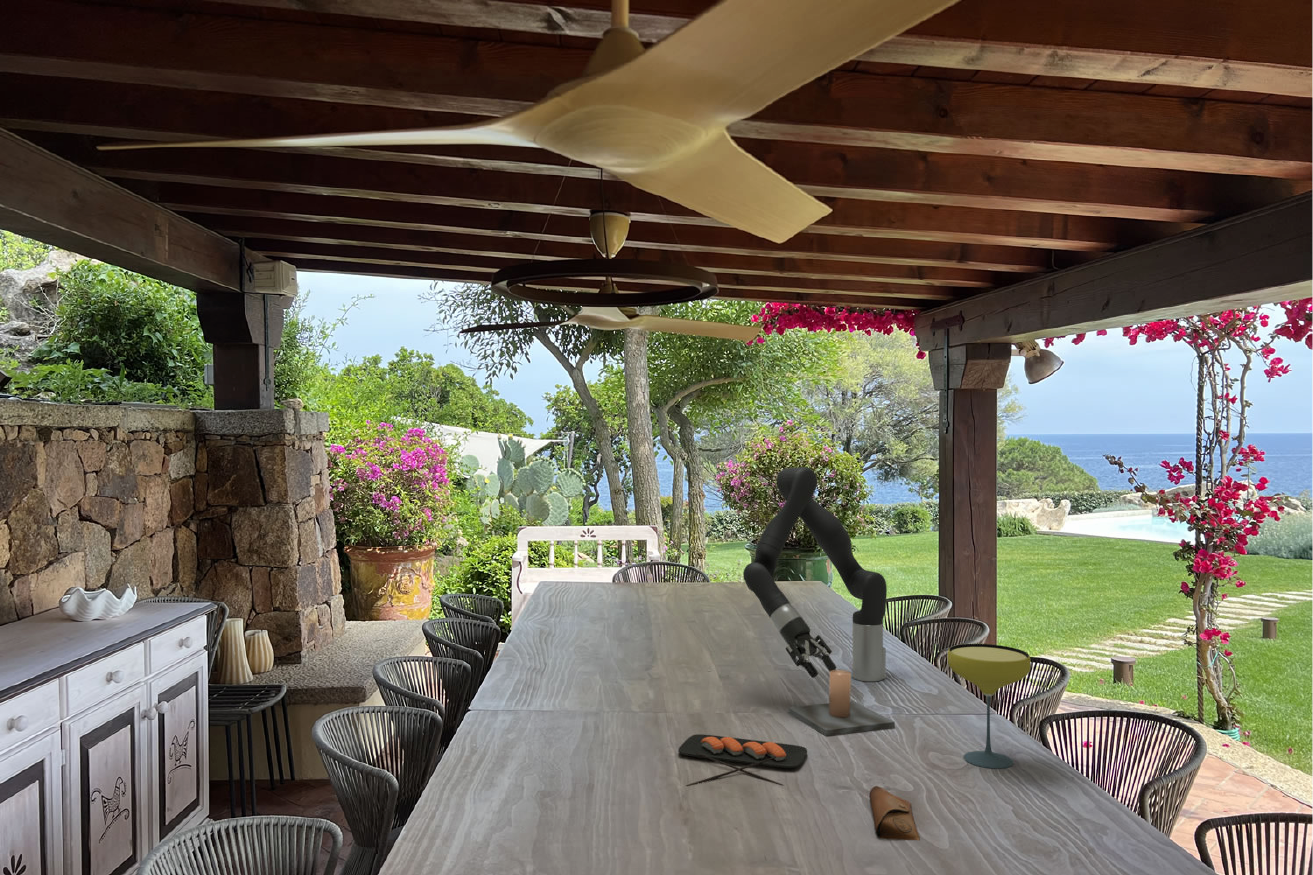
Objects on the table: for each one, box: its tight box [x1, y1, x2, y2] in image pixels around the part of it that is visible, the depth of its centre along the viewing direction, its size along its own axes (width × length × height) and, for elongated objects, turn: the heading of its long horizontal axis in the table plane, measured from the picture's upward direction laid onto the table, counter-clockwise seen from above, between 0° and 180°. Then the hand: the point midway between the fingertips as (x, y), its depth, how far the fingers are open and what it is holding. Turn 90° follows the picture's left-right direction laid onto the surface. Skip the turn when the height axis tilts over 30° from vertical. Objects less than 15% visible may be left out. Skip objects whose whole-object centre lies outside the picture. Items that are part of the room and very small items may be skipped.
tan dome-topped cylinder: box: [828, 669, 852, 717], centre depth 237 cm, size 6×6×11 cm
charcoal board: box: [788, 700, 896, 737], centre depth 237 cm, size 20×20×2 cm
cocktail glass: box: [946, 643, 1032, 770], centre depth 207 cm, size 18×18×25 cm
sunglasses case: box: [869, 785, 921, 841], centre depth 175 cm, size 18×7×7 cm
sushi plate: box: [678, 733, 808, 787], centre depth 203 cm, size 29×30×4 cm
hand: (825, 673), depth 240 cm, fingers open, 8 cm apart
